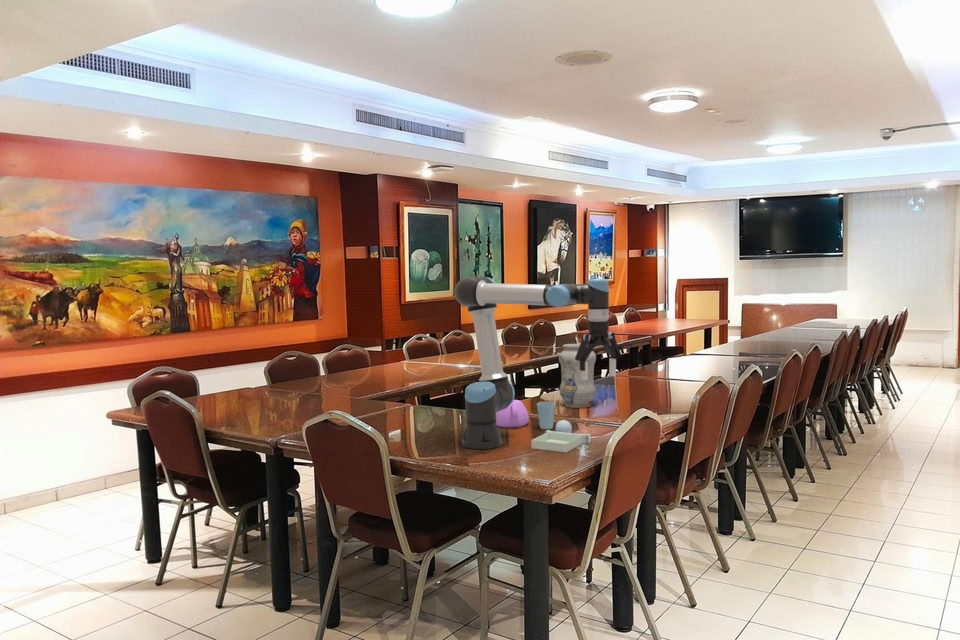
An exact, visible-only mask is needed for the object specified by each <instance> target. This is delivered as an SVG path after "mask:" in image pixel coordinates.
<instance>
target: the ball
mask: <svg viewBox="0 0 960 640" xmlns="http://www.w3.org/2000/svg"><path fill="white" fill-rule="evenodd" d="M572 431H573V427H572V423H570V422H569V421H568V420H565V419H562V420H559V421H557V423H556V424H555V432H564V433H572Z"/></svg>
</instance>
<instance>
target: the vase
mask: <svg viewBox="0 0 960 640" xmlns="http://www.w3.org/2000/svg"><path fill="white" fill-rule="evenodd" d="M580 344H581V343H567V344H566V343H565V344H563V345H562V347H563V350H562V351H561V352H560V353H559V354H558V355H559V356H558V360H559V364H560V369H561V373H560V374H561V383H560V385H559V388H558V389H559V392H558V393H559V395H560V397H561V398H562V399H563V400H564V401H565V403H564V406H565V407H566V408H570V409H571V408H573V409H579V408H581V409H583V408H585V409H586V408H588V407H591V406H592V403H590V402H591V401H592V400H593V399H594V398H595V396H596V392H597V388H596V386H595V383H594V377H595V376H594V374H595V372H594V371H595V363H596V360H597V355H596V353H595V351H594V350H592V352H591V353H590V355H589V357H588V358H587V360H586V361H585V362H588V380H584V379H581V370H580V361H578V360H575V357H576V354H577V352H578V349H579V346H580Z"/></svg>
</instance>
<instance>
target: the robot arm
mask: <svg viewBox="0 0 960 640" xmlns="http://www.w3.org/2000/svg"><path fill="white" fill-rule="evenodd" d="M454 287H455V288H454V297H455V300H456V301H457V302H458V303H459V304H460V305H461V306H464V307H466V308H467V312H468V314H469V315H470V316H472V320H473V326H474V332H475V339H476V346H477V351H478V357H479V358H478V359H479V364H480V369H481V376H480V377H479V379H478V381H477V382H473V383H470V384H469V385H467V386H466V387H465V389H464V392H465V393H464V399H465V400H464V401H465V403H464V404H465V406H464V407H465V427H464V431H463V436H462V438H461V445H462V447H464V448H466V449H470V450H486V449H488V450H489V449H494V448H498V447H500V446H502V445H503V444H502V436H501V433H500V430H499V428H498V427H499V426H497V424H496V412H498V411H500V410H504V409H506V408H507V407H508V406H509V405H511V403H512V402H513V400H515V396H516V392H515V387H514V386H513V383H511V382H510V381H509V376H508V374H507V373H506V372H504V368H503V364H502V363H503V362H502V356H501V351H500V344H499V342H500V341H499V337H498V332H497V331H498V329H497V326H496V325H497V324H496V318H495V312H496V311H497V308H498V305H499V304H500V305H522V306H523V305H526V306H551V307H555V308H556V307H559V308H561V307H564V306H569V305H587V306H588V308H587V310H588V311H587V319H588V322H587V329H588V330H587V331H588V333H589V334H582V335H581V341H580V343H579V344H580V346H579V349H578V352H577V354H576V357H575V360H578V361H580V370H581V379H584V380H588V362H585V361H586V360H587V358H588V357H589V355H590V353H591V352H592V351H594V349H595V348H596V347H600V346H602V347H603V348H604V350H606V352H607V353H608V356H610V358H608V359H609V362H608V364H609V366H608V367H609V368H608V369H609V374H608V375H609V377H610V376H611V377H616V376H617V374H616V373H617V366H618V360H619V359H620V357H622V352H621V350H620V348H619V345H618V342H617V340H616V334H615V332H611V331H610V322H609V321H608V320H609V319H610V315H609V314H610V313H609V312H610V310H609V302H610V300H609V298H610V289H609V281H608V279H607V278H589V279H588V280H587V282H586V283H582V284H581V283H580V284H579V283H578V284H577V283H563V284H562V283H561V284H535V283H534V284H527V283H498V282H497V283H496V282H495V281H494V280H493V279H492V278H490V277H487V276H467V277H463V278H462V279H460V280H459V281H458V282H457V283H456V284H455V286H454ZM609 331H610V332H609Z"/></svg>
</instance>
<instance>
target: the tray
mask: <svg viewBox="0 0 960 640" xmlns="http://www.w3.org/2000/svg"><path fill="white" fill-rule="evenodd" d="M530 441H531V442H530V443H531V449H533V450H542V451H543V450H544V451H548V452H549V451H551V452H559V453H560V452H561V453H569V452H570V451H572V450H573V449H575V448H577V447H579V446H580V445H582V444H583V443H582V436H580V435H571V434H561V433H551V432H547V433H545V432H544V433H543V434H541V435H538V436H537V437H536V438H533V439H531V440H530Z"/></svg>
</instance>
